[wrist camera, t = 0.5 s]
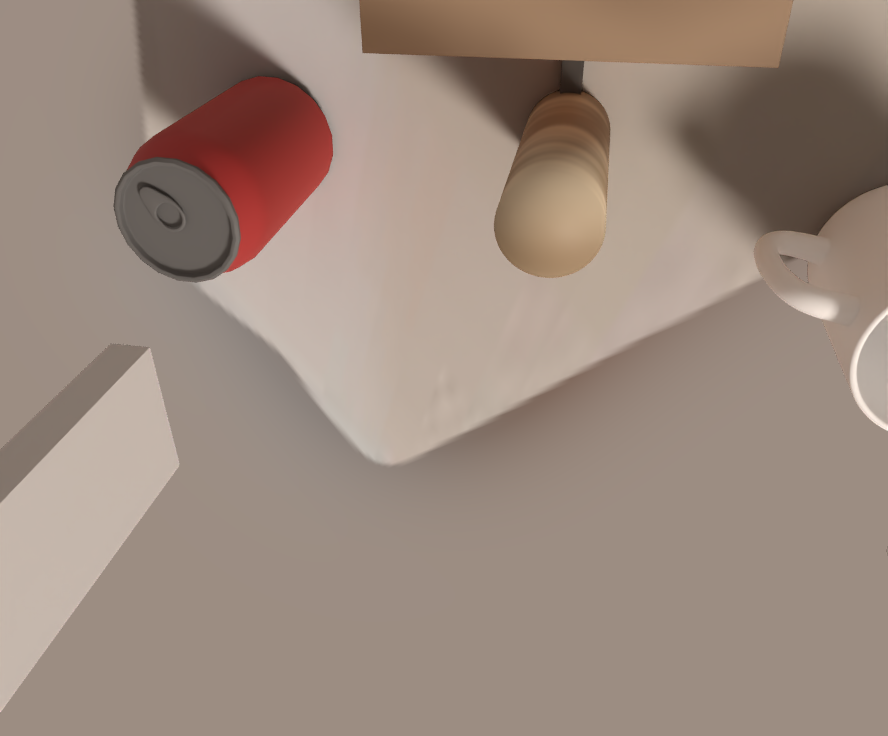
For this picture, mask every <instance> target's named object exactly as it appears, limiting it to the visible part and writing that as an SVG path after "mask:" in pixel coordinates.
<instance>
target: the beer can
mask: <svg viewBox="0 0 888 736" xmlns="http://www.w3.org/2000/svg"><path fill="white" fill-rule="evenodd" d="M332 157H333V145H332V134H331V131H330V129H329V126H328V123H327V120H326V117H325V115H324V114H323V112H322V111H321V110H320V108H319V107H318V105H317V104H316V103H315V101H314V100H313V99H312V98H311V97H310V96H309V95H307V94H306V93H305V92H304V91H302V90H301V89H300V88H299V87H298V86H296V85H294V84H291V83H289V82H286V81H284V80H282V79H279V78H274V77H261V76H258V77H254V78H251V79H247V80H244V81H241V82H239V83H238V84H236V85H234V86H233V87H231V88H230V89H228V90H226V91H225V92H223V93H222V94H220V95H218V96H217V97H215V98H214V99H212V100H210V101H209V102H207V103H206V104H204V105H202V106H201V107H199V108H198V109H196V110H194V111H193V112H191V113H190V114H188V115H186V116H185V117H183V118H182V119H180V120H178V121H177V122H175V123H174V124H172V125H170V126H169V127H167V128H166V129H164V130H162V131H161V132H159V133H158V134H156V135H155V136H153V137H152V138H151V139H150V140H148V141H147V142H146V143H145V144H143V145H142V146H141V147H140V148H139V150H138V151H137V152H136V154H135V155H134V157H133V159H132V161H131V163H130V165H129V167H128V169H127V171H126V172H124V173H123V175H122V177H121V179H120V181H119V183H118V185H117V186H116V189H115V199H114V211H115V215H116V220H117V224H118V227H119V229H120V231H121V233H122V235H123V236H124V238H125V240H126V242H127V244H128V245H129V246H130V248H131V249H132V250H133V251H134V252H135V253H136V255H137V256H138V257H139V258H140V259H141V260H142V261H143V262H145V263H146V264H147V265H149V266H150V267H152V268H153V269H154V270H156V271H157V272H158V273H161V274H163V275H166V276H168V277H171V278H173V279H176V280H179V281H187V282H201V281H206V280H211V279H214V278H216V277H217V276H219V275H220V274H222V273H225V272H229V271H232V270H234V269H236V268H238V267H240V266H242V265H243V264H245V263H246V262H248V261H250V260H251V259H253V258H254V257H256V255H257V254H258V253H259V252H260V251H261V250H262V249H263V248H264V246H265V245H266V244H267V243H268V242H269V241H270V240H271V239H272V237H273V236H274V235H275V234H276V233H277V232H278V231H279V230H280V228H281V227H282V226H283V225H284V224H285V223H286V222H287V221H288V219H289V218H290V217H291V216H292V215H293V214H294V213H295V212H296V210H297V209H298V208H299V207H300V206H301V205H302V204H303V203H304V201H305V200H306V199H307V198H308V197H309V196H310V195H311V194H312V192H313V191H314V190H315V189H316V188H317V187H318V186H319V184H320V183H321V182H322V180H323V179H324V177H325V176H326V174H327V173H328V171H329V168H330V164H331V160H332Z"/></svg>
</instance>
